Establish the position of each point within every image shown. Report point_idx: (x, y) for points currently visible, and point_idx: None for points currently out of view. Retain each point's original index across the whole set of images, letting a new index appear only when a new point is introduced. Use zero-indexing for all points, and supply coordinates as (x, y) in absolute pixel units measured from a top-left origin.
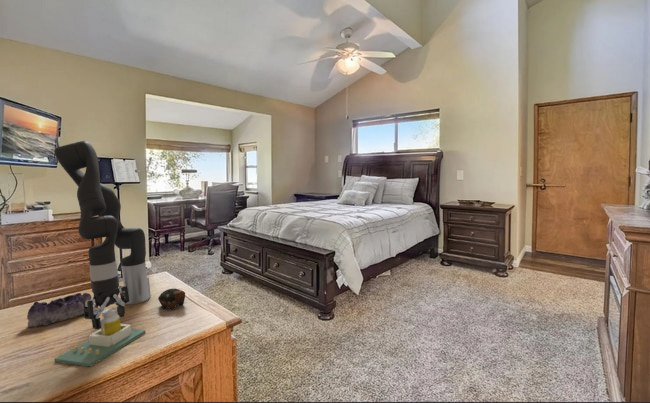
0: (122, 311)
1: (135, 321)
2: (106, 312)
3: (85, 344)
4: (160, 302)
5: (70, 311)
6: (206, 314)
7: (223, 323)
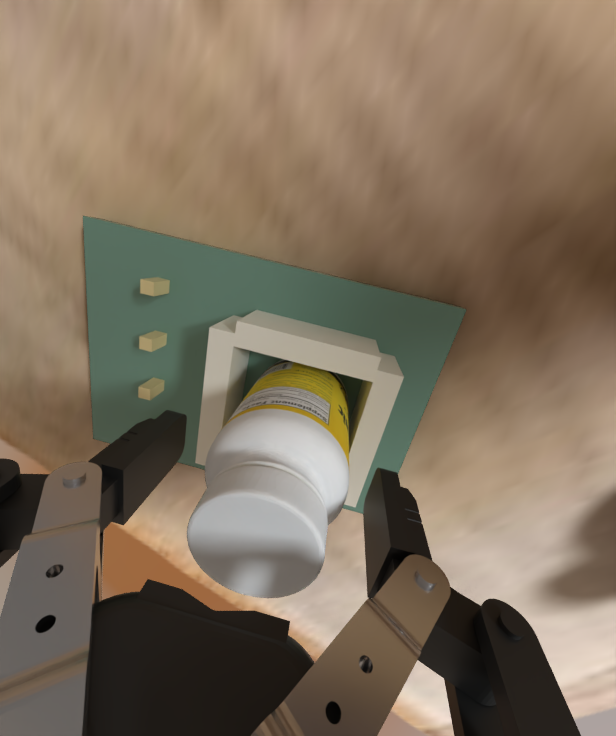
0: (368, 552)
1: (567, 377)
2: (199, 552)
3: (231, 283)
4: None
5: None
6: None
7: (418, 724)
